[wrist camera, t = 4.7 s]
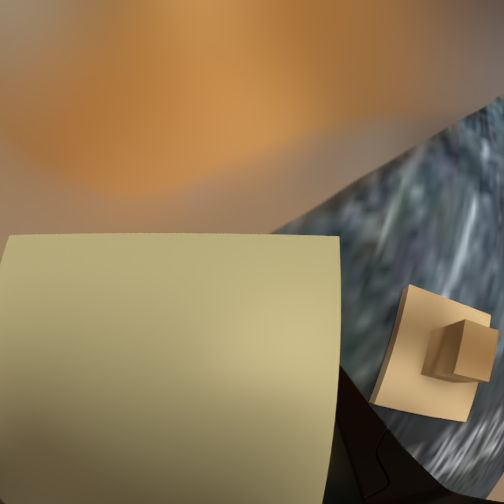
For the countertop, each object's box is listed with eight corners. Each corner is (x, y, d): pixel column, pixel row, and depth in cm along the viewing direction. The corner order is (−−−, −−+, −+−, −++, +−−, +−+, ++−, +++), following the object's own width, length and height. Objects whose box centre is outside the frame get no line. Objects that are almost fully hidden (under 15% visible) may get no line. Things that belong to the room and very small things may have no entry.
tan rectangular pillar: (291, 434, 13) (286, 619, 1) (197, 423, 13) (-4, 495, 1) (298, 343, 15) (338, 235, 3) (205, 337, 15) (9, 235, 3)
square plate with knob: (457, 420, 11) (500, 427, 7) (368, 401, 13) (399, 412, 9) (482, 318, 13) (524, 301, 9) (402, 289, 15) (437, 262, 11)
